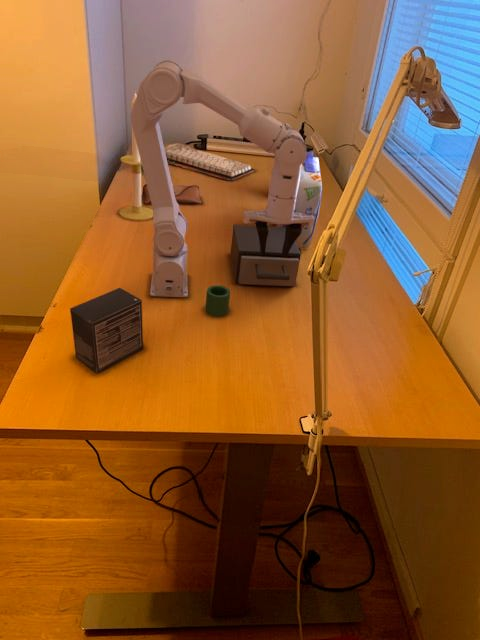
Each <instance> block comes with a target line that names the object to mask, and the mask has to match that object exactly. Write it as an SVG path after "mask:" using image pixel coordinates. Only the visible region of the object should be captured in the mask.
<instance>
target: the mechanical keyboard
mask: <svg viewBox="0 0 480 640" xmlns="http://www.w3.org/2000/svg"><path fill="white" fill-rule="evenodd" d="M164 149H165V153H166V158H167V163H168V165H173V166H177V167H181V168H182V169H185V170H188V171H195V172H198V173H201V174H205V175H207V176H211V177H215V178H218V179H221V180H225V181H235V180H237V179H239V178H242V177H244V176H246V175H248V174H252V173H254V172H255V171H257V170H256V169H255V168H252V167H251V164H247V163H243V162H240V161H237V160H234V159H230V158H226V157H224V156H221V155H217V154H214V153H210V152H207V151H203V150H200V149H198V150H197V149H196V148H192V147H191V146H190V145H187V144H183V143H180V142H175V143H171V144H168V145H164Z"/></svg>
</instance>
